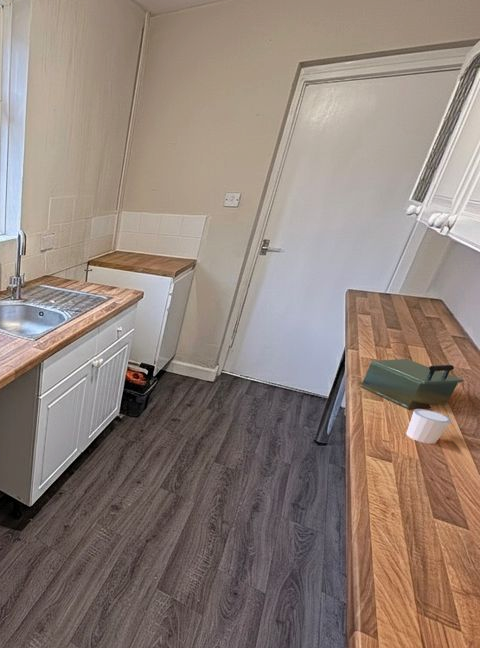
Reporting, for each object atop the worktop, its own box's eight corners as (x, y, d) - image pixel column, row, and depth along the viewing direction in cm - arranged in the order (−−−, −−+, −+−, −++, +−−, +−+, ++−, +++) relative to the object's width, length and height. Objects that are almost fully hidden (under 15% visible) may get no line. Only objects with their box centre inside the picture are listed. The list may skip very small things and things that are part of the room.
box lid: (462, 382, 120) (470, 367, 118) (423, 384, 119) (431, 369, 117) (405, 361, 134) (412, 347, 132) (370, 362, 133) (376, 349, 131)
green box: (445, 407, 124) (458, 381, 121) (407, 409, 123) (420, 383, 120) (394, 385, 138) (405, 361, 134) (360, 387, 136) (370, 362, 133)
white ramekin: (443, 440, 108) (455, 417, 106) (434, 448, 105) (446, 425, 103) (408, 427, 114) (418, 406, 111) (398, 435, 111) (409, 412, 108)
